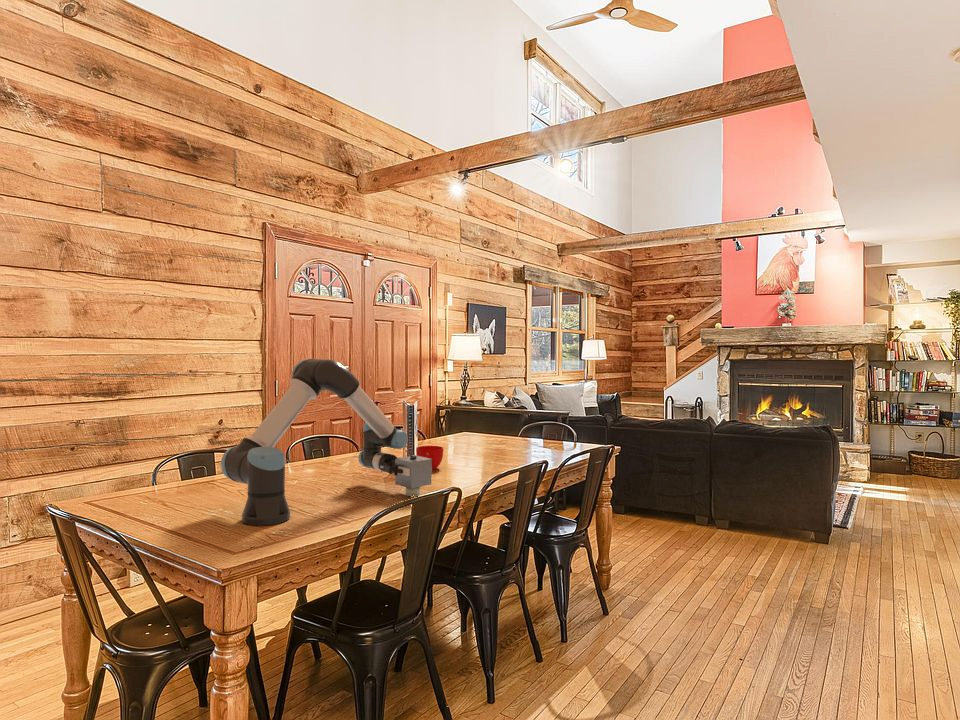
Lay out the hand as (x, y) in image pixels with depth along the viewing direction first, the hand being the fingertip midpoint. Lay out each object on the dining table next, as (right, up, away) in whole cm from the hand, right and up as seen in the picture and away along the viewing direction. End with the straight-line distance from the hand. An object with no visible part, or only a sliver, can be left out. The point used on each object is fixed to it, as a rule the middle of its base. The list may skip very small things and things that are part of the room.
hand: (420, 470), depth 233 cm
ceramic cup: (-1, -10, +55) cm, 56 cm away
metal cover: (-3, -6, +3) cm, 7 cm away
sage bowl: (-3, -11, +3) cm, 11 cm away
